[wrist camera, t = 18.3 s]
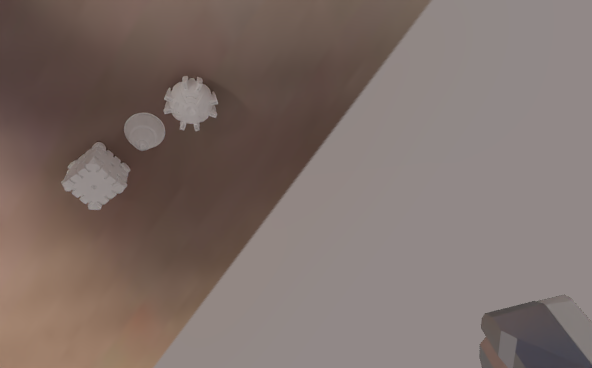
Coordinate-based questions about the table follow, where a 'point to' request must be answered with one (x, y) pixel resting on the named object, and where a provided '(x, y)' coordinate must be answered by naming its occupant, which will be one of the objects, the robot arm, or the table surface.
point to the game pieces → (136, 143)
